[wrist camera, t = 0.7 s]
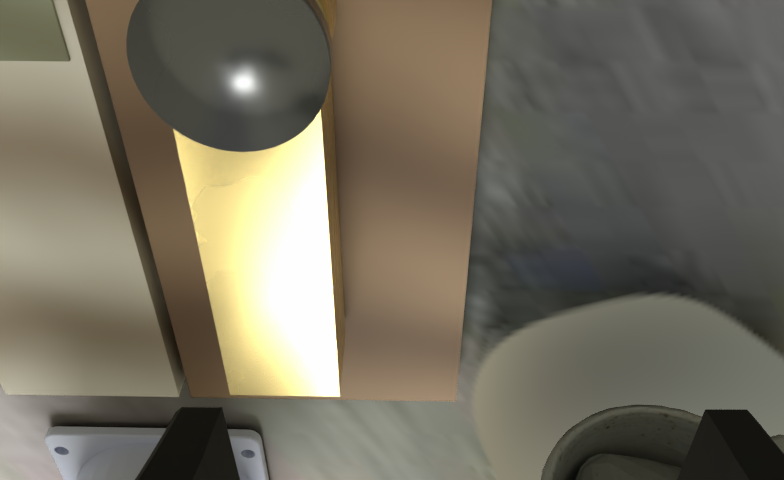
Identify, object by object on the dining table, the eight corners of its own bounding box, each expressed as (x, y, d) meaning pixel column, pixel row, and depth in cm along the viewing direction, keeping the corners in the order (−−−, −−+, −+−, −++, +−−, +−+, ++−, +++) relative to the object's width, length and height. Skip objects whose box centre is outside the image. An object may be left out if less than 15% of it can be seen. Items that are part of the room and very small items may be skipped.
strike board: (454, 373, 25) (460, 464, 22) (20, 366, 25) (-28, 456, 22) (507, -261, 14) (533, -240, 11) (-280, -265, 14) (-456, -246, 11)
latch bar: (154, -88, 14) (104, -38, 12) (338, -87, 14) (324, -37, 12) (234, 333, 22) (213, 415, 19) (355, 335, 22) (349, 417, 19)
